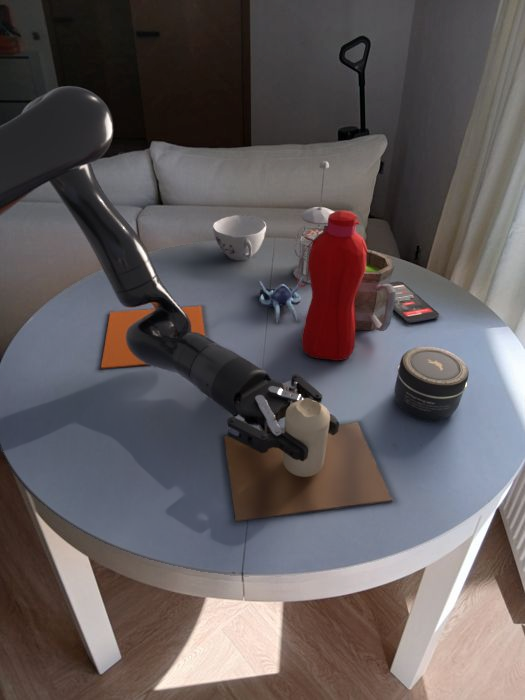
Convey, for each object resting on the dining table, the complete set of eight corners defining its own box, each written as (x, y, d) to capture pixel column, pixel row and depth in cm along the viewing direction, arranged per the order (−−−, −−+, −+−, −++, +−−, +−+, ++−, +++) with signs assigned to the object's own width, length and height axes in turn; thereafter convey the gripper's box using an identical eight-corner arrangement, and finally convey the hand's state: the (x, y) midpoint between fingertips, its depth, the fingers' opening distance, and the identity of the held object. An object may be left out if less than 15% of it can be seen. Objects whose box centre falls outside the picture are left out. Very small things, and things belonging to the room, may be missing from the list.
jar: (404, 375, 83) (413, 338, 79) (464, 397, 79) (477, 359, 74) (382, 408, 76) (390, 369, 72) (446, 434, 72) (459, 395, 67)
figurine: (271, 329, 96) (263, 294, 92) (256, 304, 106) (248, 271, 101) (316, 314, 97) (310, 279, 92) (297, 290, 107) (290, 258, 102)
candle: (283, 477, 64) (288, 422, 58) (281, 445, 68) (284, 391, 62) (326, 477, 64) (334, 422, 58) (320, 445, 68) (328, 391, 62)
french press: (344, 273, 113) (359, 161, 98) (312, 290, 106) (322, 173, 92) (312, 260, 119) (320, 152, 104) (279, 275, 112) (283, 162, 97)
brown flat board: (235, 521, 60) (235, 520, 59) (224, 438, 71) (224, 436, 70) (392, 501, 62) (392, 499, 62) (357, 424, 73) (357, 422, 73)
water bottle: (296, 329, 94) (304, 200, 79) (354, 336, 92) (373, 206, 78) (289, 358, 86) (297, 221, 72) (352, 365, 85) (373, 227, 70)
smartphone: (408, 320, 96) (371, 285, 107) (408, 323, 96) (371, 288, 107) (440, 315, 97) (400, 280, 109) (440, 318, 98) (400, 283, 109)
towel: (101, 368, 83) (100, 367, 83) (110, 313, 98) (110, 312, 97) (207, 359, 86) (207, 358, 86) (201, 307, 100) (201, 305, 100)
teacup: (209, 247, 123) (207, 217, 119) (256, 242, 126) (257, 212, 122) (223, 274, 112) (222, 241, 107) (275, 268, 115) (276, 235, 110)
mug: (320, 307, 101) (325, 253, 94) (366, 298, 104) (374, 245, 97) (359, 349, 89) (368, 291, 82) (409, 338, 92) (422, 281, 85)
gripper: (188, 382, 64) (285, 452, 55) (264, 338, 72) (359, 392, 63) (191, 423, 68) (282, 494, 59) (263, 377, 77) (351, 433, 68)
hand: (321, 441), depth 61 cm, fingers closed on candle, 5 cm apart
